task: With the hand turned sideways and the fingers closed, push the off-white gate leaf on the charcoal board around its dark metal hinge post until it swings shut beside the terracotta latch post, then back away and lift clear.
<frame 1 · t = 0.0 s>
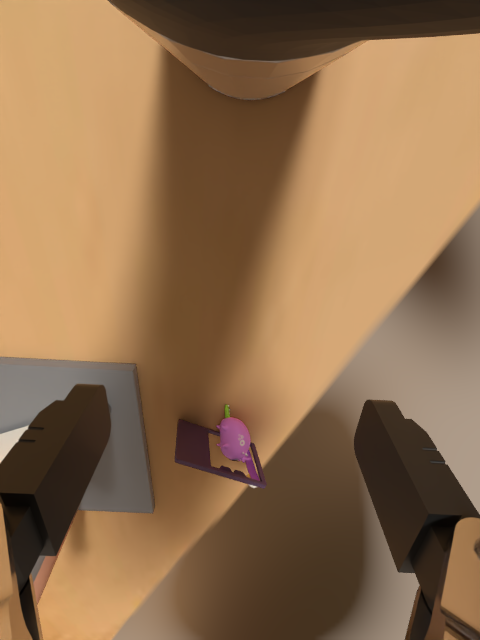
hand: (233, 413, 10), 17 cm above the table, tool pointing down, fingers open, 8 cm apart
purple decorated picture frame: (225, 418, 36), on the table
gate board: (49, 441, 38), on the table
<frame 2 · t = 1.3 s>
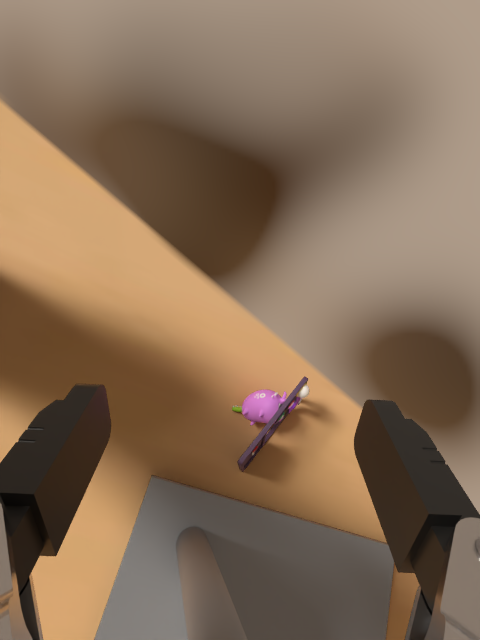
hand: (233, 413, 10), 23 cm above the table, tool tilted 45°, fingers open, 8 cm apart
purple decorated picture frame: (253, 417, 33), on the table
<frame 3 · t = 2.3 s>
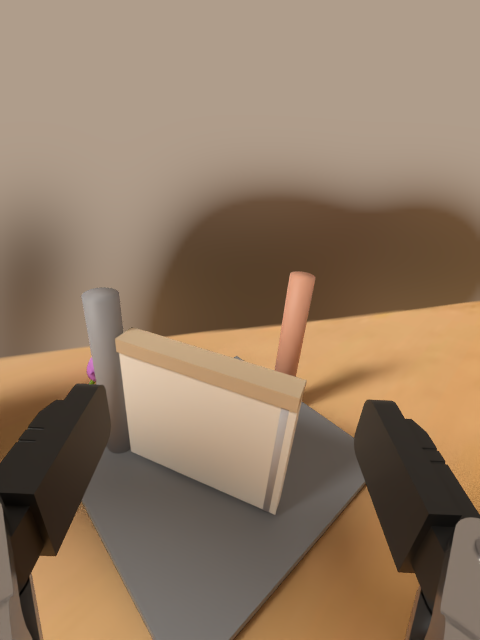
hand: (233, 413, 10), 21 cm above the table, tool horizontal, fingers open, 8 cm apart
gate leaf: (203, 422, 27), point 8 cm above the table, hinge at -45.0°
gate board: (221, 457, 33), on the table
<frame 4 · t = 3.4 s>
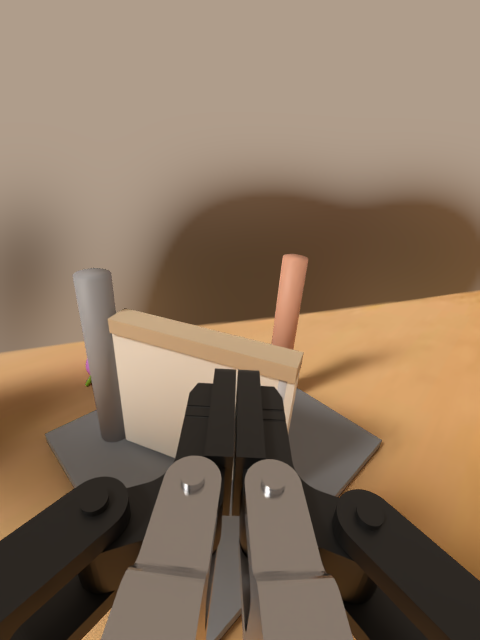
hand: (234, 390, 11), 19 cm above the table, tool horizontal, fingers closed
gate leaf: (199, 403, 26), point 8 cm above the table, hinge at -45.0°
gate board: (218, 444, 33), on the table
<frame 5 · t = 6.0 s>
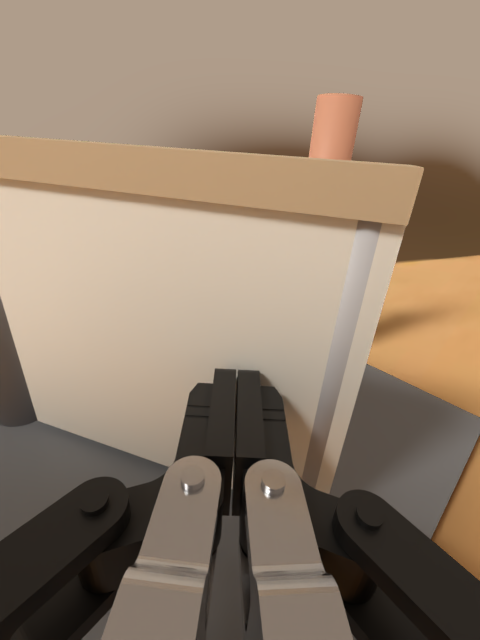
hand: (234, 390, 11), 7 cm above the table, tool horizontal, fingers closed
gate leaf: (164, 334, 13), point 8 cm above the table, hinge at -43.8°, touching gripper
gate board: (206, 430, 19), on the table
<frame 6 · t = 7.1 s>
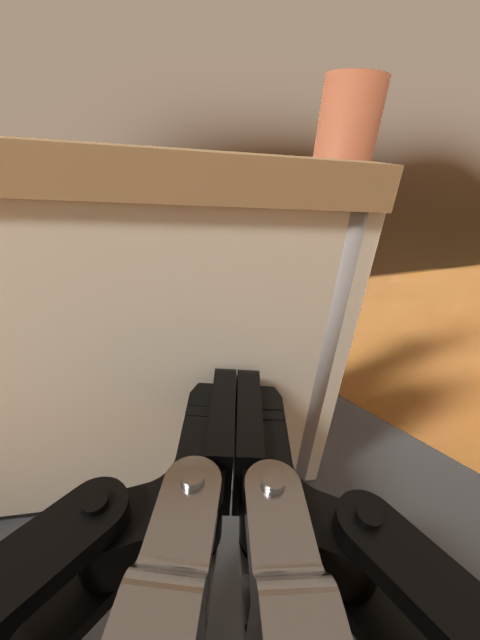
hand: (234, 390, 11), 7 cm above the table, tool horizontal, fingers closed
gate leaf: (140, 358, 11), point 8 cm above the table, hinge at -16.2°, touching gripper
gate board: (174, 536, 14), on the table
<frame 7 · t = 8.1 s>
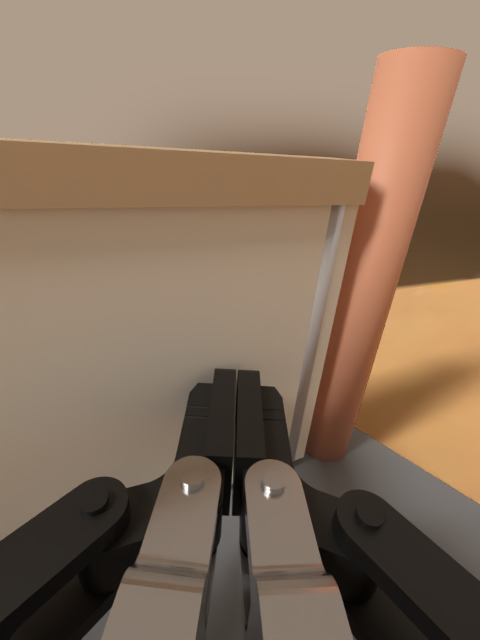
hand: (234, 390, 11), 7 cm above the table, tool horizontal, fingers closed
gate leaf: (135, 370, 11), point 8 cm above the table, hinge at 0.2°, touching gripper
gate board: (179, 636, 11), on the table
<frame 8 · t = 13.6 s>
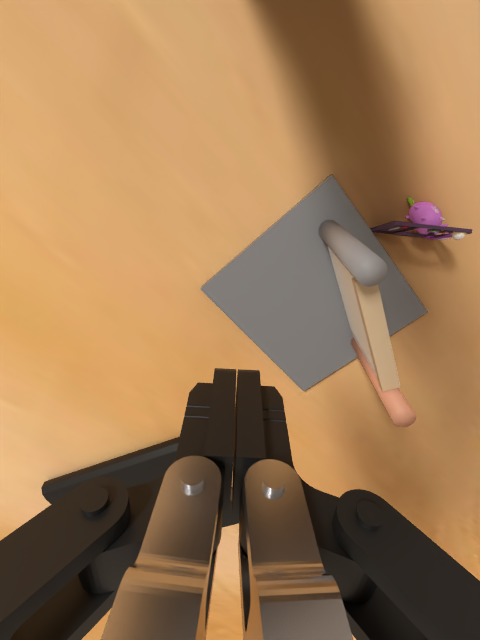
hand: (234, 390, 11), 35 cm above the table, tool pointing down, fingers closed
gate leaf: (360, 312, 40), point 8 cm above the table, hinge at 0.2°
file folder: (149, 489, 69), on the table
purple decorated picture frame: (407, 216, 43), on the table
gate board: (314, 297, 48), on the table
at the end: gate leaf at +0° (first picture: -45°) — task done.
